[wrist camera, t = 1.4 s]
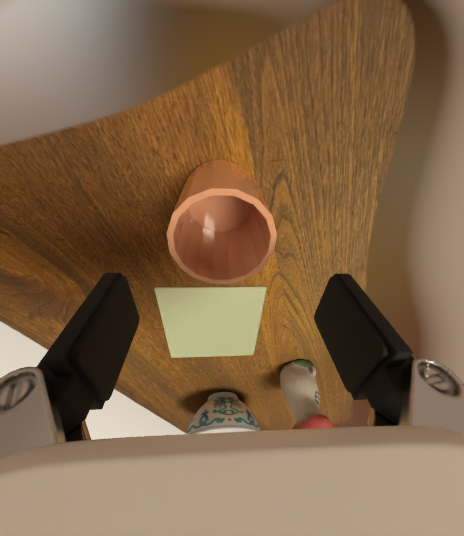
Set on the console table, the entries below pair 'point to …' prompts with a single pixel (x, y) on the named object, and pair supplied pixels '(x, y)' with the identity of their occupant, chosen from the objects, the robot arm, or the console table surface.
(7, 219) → the console table surface
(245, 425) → the chinaware
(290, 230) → the console table surface
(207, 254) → the cup
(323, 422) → the decorative ornament
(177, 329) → the mat
